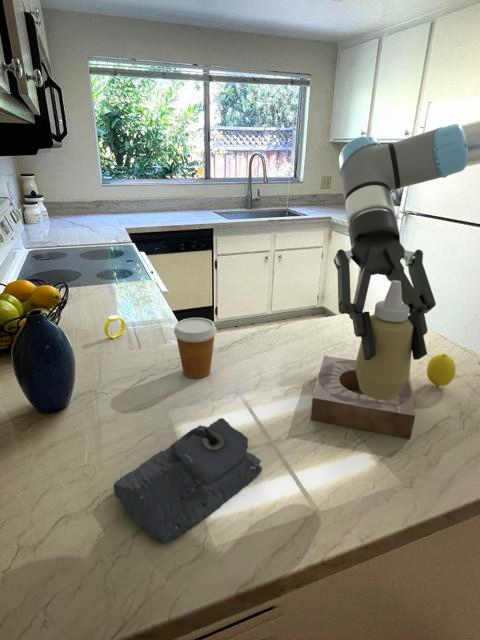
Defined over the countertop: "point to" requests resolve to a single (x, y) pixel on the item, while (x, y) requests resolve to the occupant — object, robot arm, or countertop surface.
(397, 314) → the squeeze bottle
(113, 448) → the countertop surface
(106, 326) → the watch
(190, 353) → the disposable coffee cup
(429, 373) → the lemon
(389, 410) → the holder
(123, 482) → the iron doorstop weight
